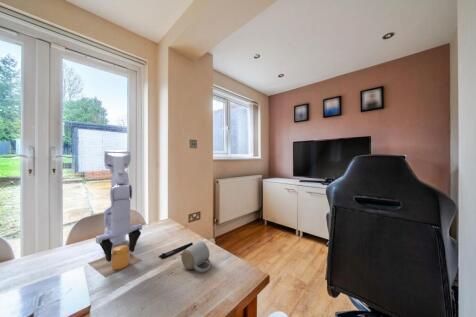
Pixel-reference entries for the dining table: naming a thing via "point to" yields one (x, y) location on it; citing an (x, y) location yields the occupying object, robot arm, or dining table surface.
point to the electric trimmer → (174, 251)
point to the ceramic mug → (196, 256)
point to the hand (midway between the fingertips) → (120, 255)
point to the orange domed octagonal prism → (120, 257)
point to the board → (106, 267)
